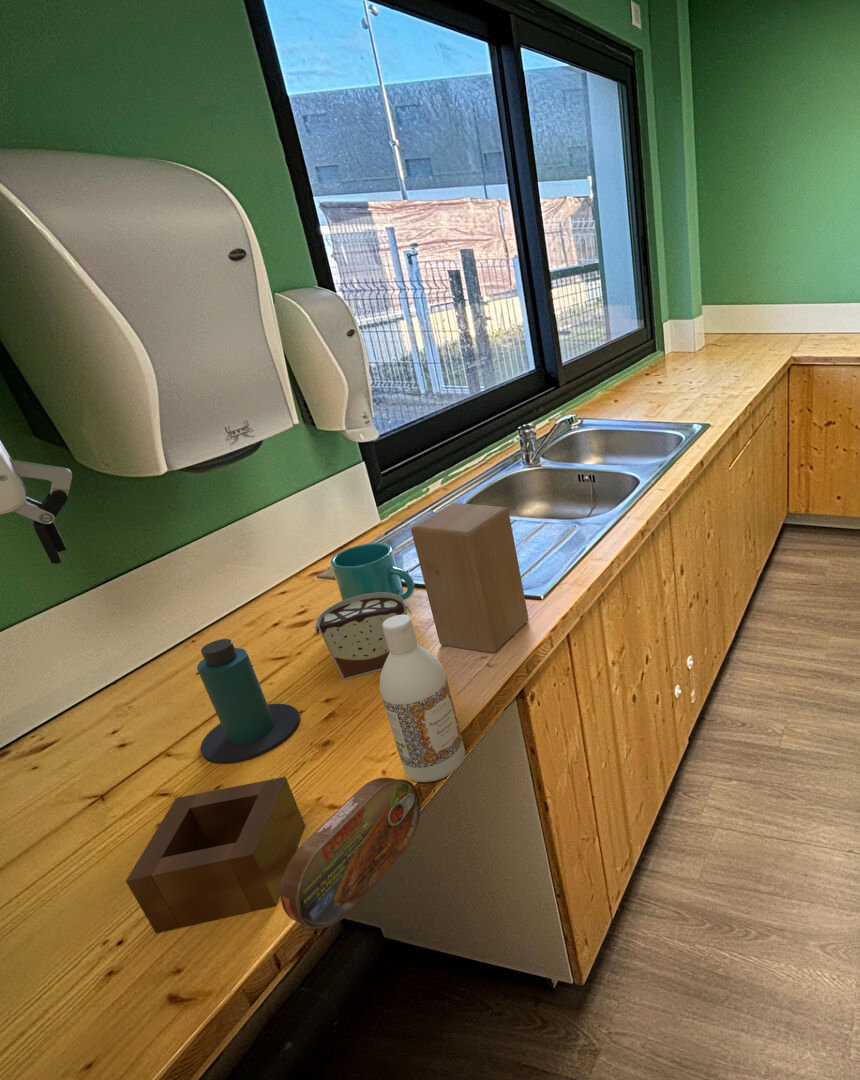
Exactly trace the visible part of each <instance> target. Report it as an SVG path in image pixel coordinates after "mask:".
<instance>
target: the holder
mask: <svg viewBox="0 0 860 1080" xmlns="http://www.w3.org/2000/svg"><path fill="white" fill-rule="evenodd" d="M305 828H306V823H305V822H304V819H303V816H302V814H301V811H300V809H299V806H298V804H297V801H296V799H295V797H294V794H293V792H292V789H291V786H290V784H289V782H288V779H287V776H283V777H282V776H281V777H277V778H272V779H267V780H261V781H255V782H251V783H245V784H241V785H236V786H230V787H225V788H220V789H214V790H209V791H204V792H200V793H193V794H190V795H183V796H179V797H175V799H174V800H173V802H172V804H171V805H170V807H169V808H168V810H167V812H166V814H165V816H164V817H163V819H162V820H161V822H160V823H159V825H158V826H157V828H156V830H155V831H154V833H153V834H152V837H151V838H150V840H149V841H148V843H147V845H146V847H145V848H144V850H143V851H142V853H141V855H140V857H139V858H138V859H137V861H136V863H135V865H134V866H133V868H132V869H131V871H130V873H129V875H128V876H127V878H126V880H125V883H126V885H127V886H128V888H129V889H130V891H131V893H132V895H133V896H134V898H135V900H136V902H137V903H138V905H139V907H140V908H141V911H142V912H143V914H144V915H145V917H146V919H147V921H148V923H149V924H150V927H151V928H152V929H153V931H154V934H159V933H163V932H168V931H174V930H176V929H181V928H185V927H190V926H195V925H198V924H203V923H207V922H212V921H216V920H221V919H224V918H230V917H234V916H237V915H242V914H247V913H251V912H256V911H260V910H264V909H269V908H272V907H276V906H277V904H278V902H279V899H280V888H281V883H282V879H283V875H284V873H285V870H286V867H287V865H288V863H289V862H290V860H291V858H292V857H293V855H294V854H295V852H296V851H297V850H298V848H299V847H298V846H299V843H300V841H301V838H302V835H303V833H304V830H305Z"/></svg>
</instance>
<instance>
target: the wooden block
mask: <svg viewBox="0 0 860 1080" xmlns="http://www.w3.org/2000/svg"><path fill="white" fill-rule="evenodd" d="M410 531H411V535H412V539H413V543H414V547H415V552H416V556H417V559H418V563H419V567H420V571H421V575H422V579H423V582H424V583H423V584H424V587H425V591H426V594H427V595H426V596H427V598H428V602H429V605H430V610H431V614H432V618H433V622H434V627H435V630H436V634H437V635H436V636H437V638H438V642H439V644H440V645H441V646H444V647H445V646H446V647H450V648H451V647H452V648H457V649H465V650H469V651H470V650H471V651H477V652H482V653H489V652H490V654H494V653H496V652H498V650H499V649H501V648H502V646H503V645H505V644H506V643H507V642H506V641H509V640H510V639H511V638H512V637H514V635H515V634H516V633H517V632H518V631H520V630H521V628H522V627H523V626H525V625H526V623H528V622H529V614H528V607H527V603H526V602H527V601H526V598H525V597H526V596H525V592H524V591H525V590H524V585H523V580H522V575H521V570H520V565H519V559H518V554H517V553H518V552H517V549H516V548H517V547H516V543H515V537H514V533H513V532H514V531H513V527H512V522H511V516H510V511H509V508H508V507H506V506H497V505H496V506H494V505H483V504H474V503H473V504H472V503H462V502H461V503H460V502H453V503H450V504H449V505H447V506H446V507H444V508H442V509H441V510H439V511H437V512H435V513H434V514H432V515H430V516H428V517H427V518H425V519H422V520H421V521H420V522H417V524H414V525H413V526H411V528H410ZM509 638H510V639H509Z"/></svg>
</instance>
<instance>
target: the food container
mask: <svg viewBox="0 0 860 1080" xmlns="http://www.w3.org/2000/svg"><path fill="white" fill-rule="evenodd" d="M405 607H406V608H405ZM407 612H408V613H409V614H410V615H411V614H412V611H411V609H410V607H409V606H408V604H407V601H406V602H405V601H404V600H403V599H402V598H401V597H400V596H398V595H396V594H392V593H383V592H379V593H368V594H363V595H358V596H355V597H351V598H348V599H346V600H343V601H342V600H341V601H338V602H336V603H334V604H332V605H331V606H328V607H327V608H326V609H325V610H324V611H322V612H321V613H320V614H319V615H318V617H317V619H316V621H315V627H314V628H315V629H314V630H315V636H316V637H318V635H319V633H320V635H321V637H322V639H323V641H324V644H325V645H326V647H327V650H328V651H329V654H330V656H331V658H332V660H333V662H334V664H335V666H336V668H337V671H338V672H339V675H340V676H341V679H342V680H343V681H347V680H350V679H354V678H358V677H361V676H365V675H369V674H373V673H376V672H380V671H382V669H383V666H384V664H385V662H386V659H387V657H388V655H389V653H390V651H389V648H388V645H387V641H386V638H385V634H384V631H383V627H382V624H383V622H384V621H385V620H386V619H388V618H390V617H393V616H396V615H407Z"/></svg>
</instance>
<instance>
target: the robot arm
mask: <svg viewBox="0 0 860 1080" xmlns="http://www.w3.org/2000/svg"><path fill="white" fill-rule="evenodd" d="M22 477H23V478H30V479H38V480H43V481H48V482H50V483H51V487H50V491H49V492H48V494H47V495H46V497H45V498H44V499H43V501H42V502H41V501H39V500H36V499H34V498H31V497H29V496H27V495H26V494H27V489H26V485H25V483H24V481H23V479H22ZM72 479H73V473H72V471H71V469H69V468H67V467H62V466H55V465H49V464H42V463H36V462H30V461H25V460H24V461H23V460H17V459H16V460H15V459H12V457H11V456H10V454H9V453H8V451H7V449H6V447H5V446H4V444H3V442H2V440H0V516H1V515H5V514H8V513H12V512H13V513H16V514H18V515H20V516H23V517H25V518H27V519H30V520H32V521H33V522H32V523H33V528H34V531H35V533H36V535H37V537H38V540H39V541H40V543H41V545H42V547H43V549H44V551H45V553H46V555H47V557H48V559H49V561H50V563H51V564H52V565H53V564H55V565H58V564H61V563H63V561H62V557H61V553H60V552H64V551H67V550H68V548H67V546H66V543H65V541H64V540H63V537H62V535H61V533H60V531H59V529H58V527H57V525H56V523H55V520H56V517H57V516H58V514H59V513H60V511H61V510H62V509H63V507H64V506H65V505H66V503H67V501H68V499H69V492H70V489H71V484H72Z"/></svg>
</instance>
